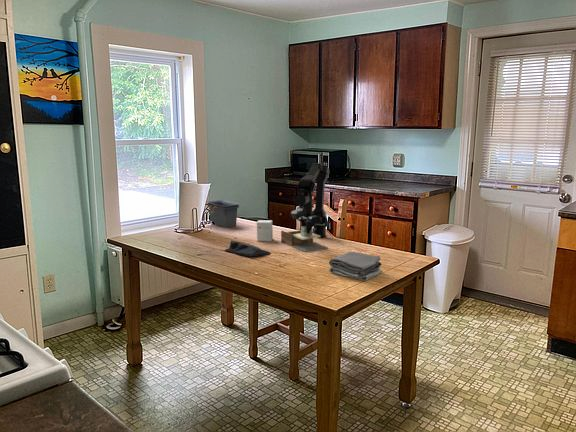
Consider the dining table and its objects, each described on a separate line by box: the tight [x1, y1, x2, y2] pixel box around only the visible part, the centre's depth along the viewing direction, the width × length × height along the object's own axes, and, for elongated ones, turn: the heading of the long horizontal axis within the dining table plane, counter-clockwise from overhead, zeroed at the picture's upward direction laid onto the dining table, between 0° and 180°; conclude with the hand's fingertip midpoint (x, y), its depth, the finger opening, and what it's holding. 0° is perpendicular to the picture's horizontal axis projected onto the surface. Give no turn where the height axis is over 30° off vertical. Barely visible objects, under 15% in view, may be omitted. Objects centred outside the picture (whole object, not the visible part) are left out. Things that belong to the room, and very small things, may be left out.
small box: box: [256, 219, 274, 242], centre depth 251 cm, size 8×6×10 cm
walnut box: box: [280, 229, 314, 247], centre depth 246 cm, size 13×11×6 cm
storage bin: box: [206, 199, 240, 228], centre depth 289 cm, size 21×16×14 cm
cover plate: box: [292, 225, 321, 240], centre depth 237 cm, size 11×10×5 cm
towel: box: [328, 251, 383, 282], centre depth 194 cm, size 15×18×8 cm
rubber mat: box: [291, 241, 329, 253], centre depth 236 cm, size 14×12×1 cm
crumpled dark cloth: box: [224, 240, 272, 258], centre depth 228 cm, size 15×22×5 cm
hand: (306, 233), depth 237 cm, fingers closed on cover plate, 3 cm apart
